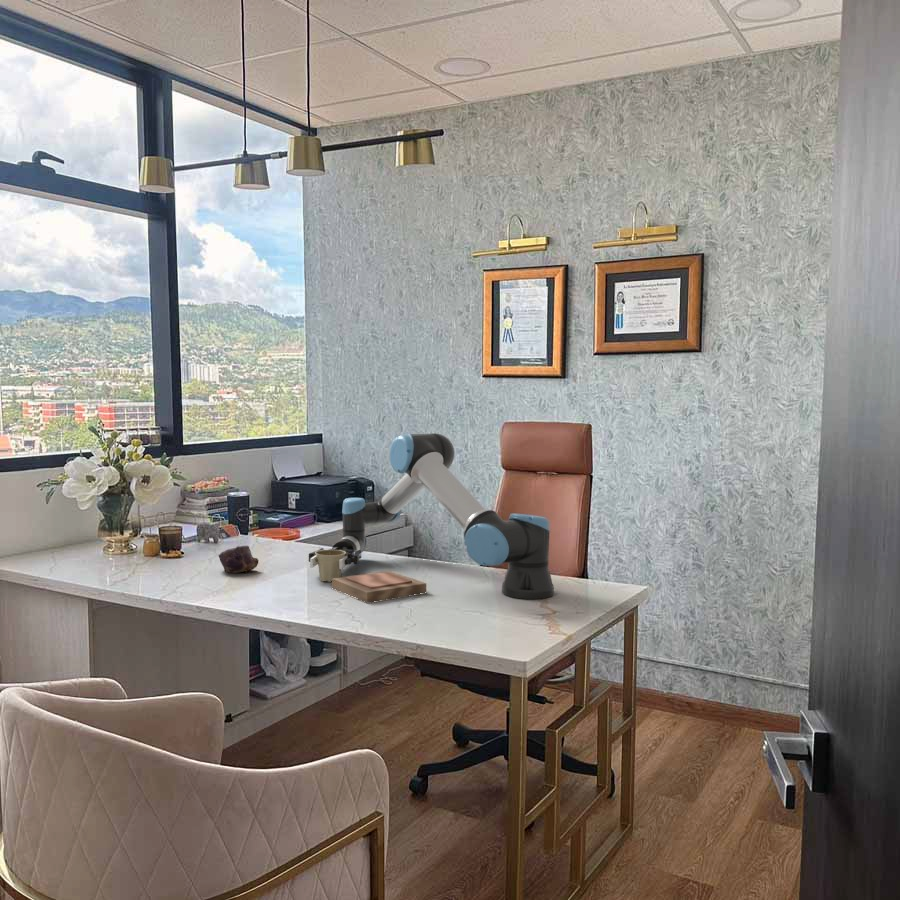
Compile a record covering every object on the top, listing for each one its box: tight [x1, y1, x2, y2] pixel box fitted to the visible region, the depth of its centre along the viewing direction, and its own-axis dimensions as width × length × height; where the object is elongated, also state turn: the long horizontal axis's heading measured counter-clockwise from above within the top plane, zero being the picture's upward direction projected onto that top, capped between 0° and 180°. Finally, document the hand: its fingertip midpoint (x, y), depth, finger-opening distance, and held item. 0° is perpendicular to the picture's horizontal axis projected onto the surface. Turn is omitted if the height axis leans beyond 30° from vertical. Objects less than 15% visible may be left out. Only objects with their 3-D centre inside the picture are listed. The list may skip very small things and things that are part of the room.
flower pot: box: [314, 549, 346, 583], centre depth 257 cm, size 9×9×9 cm
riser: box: [331, 570, 427, 603], centre depth 245 cm, size 20×20×4 cm
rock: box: [217, 545, 259, 574], centre depth 267 cm, size 12×9×10 cm
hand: (325, 563), depth 253 cm, fingers closed on flower pot, 8 cm apart
